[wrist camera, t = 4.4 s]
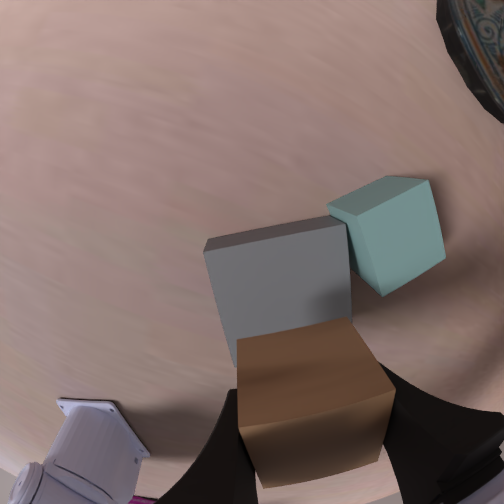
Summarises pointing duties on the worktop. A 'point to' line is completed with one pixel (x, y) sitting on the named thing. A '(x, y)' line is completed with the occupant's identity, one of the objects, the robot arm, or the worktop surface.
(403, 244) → the teal cube
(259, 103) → the worktop surface
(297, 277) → the base block
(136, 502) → the candy bar box
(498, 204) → the worktop surface
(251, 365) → the walnut cube
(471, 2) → the beer stein
